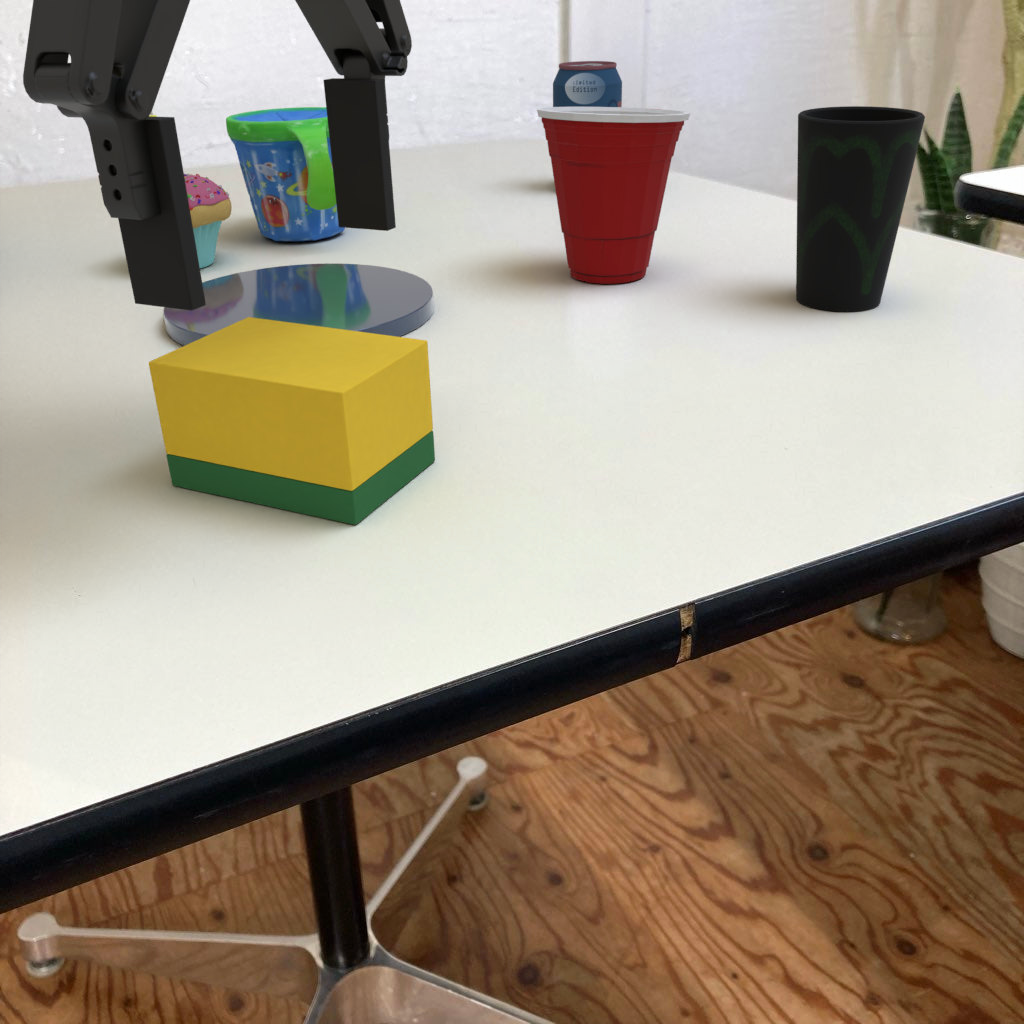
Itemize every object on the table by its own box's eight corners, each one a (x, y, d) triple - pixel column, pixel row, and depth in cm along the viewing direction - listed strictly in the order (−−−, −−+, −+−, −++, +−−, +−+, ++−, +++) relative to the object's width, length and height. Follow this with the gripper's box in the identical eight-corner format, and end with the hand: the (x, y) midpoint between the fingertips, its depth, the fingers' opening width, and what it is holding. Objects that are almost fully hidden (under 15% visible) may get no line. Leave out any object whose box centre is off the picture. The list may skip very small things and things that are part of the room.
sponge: (171, 485, 48) (147, 361, 45) (264, 429, 53) (248, 316, 51) (356, 525, 44) (341, 392, 41) (435, 461, 50) (428, 339, 47)
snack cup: (232, 223, 98) (215, 107, 93) (343, 212, 101) (332, 99, 96) (255, 261, 84) (236, 129, 80) (382, 247, 88) (371, 119, 83)
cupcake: (114, 264, 85) (82, 106, 79) (211, 246, 89) (188, 96, 84) (157, 284, 79) (126, 116, 73) (258, 264, 84) (237, 105, 78)
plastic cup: (705, 266, 80) (716, 99, 74) (638, 301, 72) (645, 117, 66) (584, 250, 85) (585, 93, 80) (509, 281, 77) (505, 109, 72)
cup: (763, 305, 70) (780, 118, 65) (802, 279, 76) (821, 104, 70) (877, 323, 67) (905, 124, 61) (910, 293, 72) (939, 109, 67)
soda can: (600, 196, 104) (602, 67, 99) (541, 191, 108) (539, 65, 102) (631, 184, 110) (634, 61, 104) (573, 179, 113) (573, 59, 107)
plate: (106, 338, 68) (102, 320, 67) (274, 270, 82) (272, 254, 81) (340, 373, 61) (338, 353, 60) (478, 292, 75) (478, 276, 74)
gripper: (-50, -562, 23) (139, 364, 32) (470, -321, 43) (490, 208, 52) (-262, -492, 26) (-30, 338, 35) (318, -297, 46) (364, 200, 55)
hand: (281, 262), depth 44 cm, fingers open, 13 cm apart
